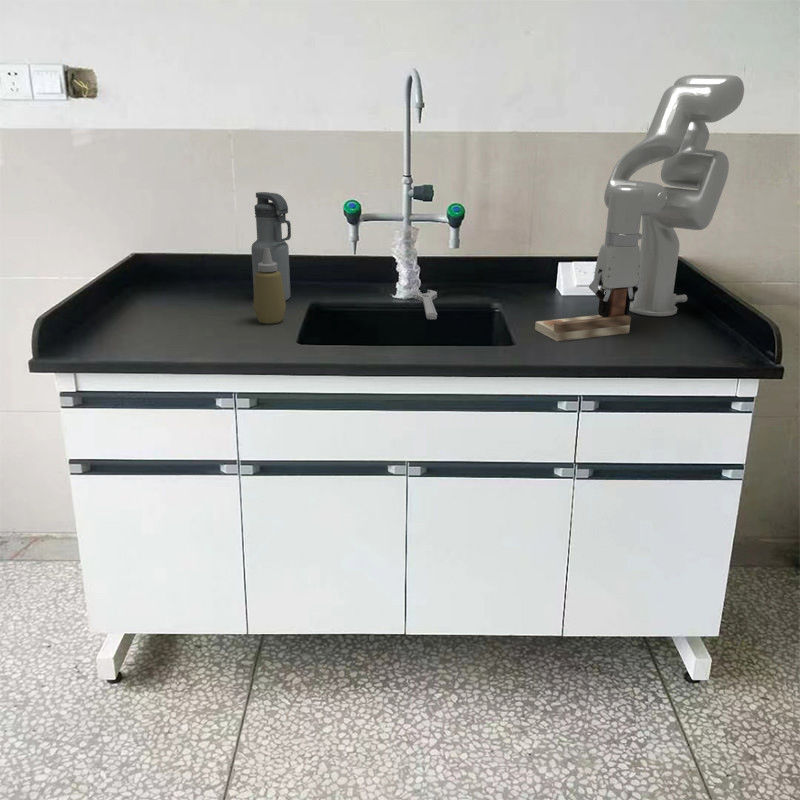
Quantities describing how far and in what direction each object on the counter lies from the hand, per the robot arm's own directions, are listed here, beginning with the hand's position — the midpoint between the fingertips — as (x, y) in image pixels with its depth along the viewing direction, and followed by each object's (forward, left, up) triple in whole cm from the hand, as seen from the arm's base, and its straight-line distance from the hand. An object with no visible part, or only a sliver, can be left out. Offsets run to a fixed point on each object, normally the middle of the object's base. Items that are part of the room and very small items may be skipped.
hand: (613, 314), depth 198 cm
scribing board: (+8, -1, -4) cm, 9 cm away
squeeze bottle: (+76, -34, -4) cm, 84 cm away
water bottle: (+71, -55, -4) cm, 90 cm away
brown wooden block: (0, -1, -1) cm, 2 cm away
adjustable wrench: (+34, -35, -4) cm, 49 cm away
